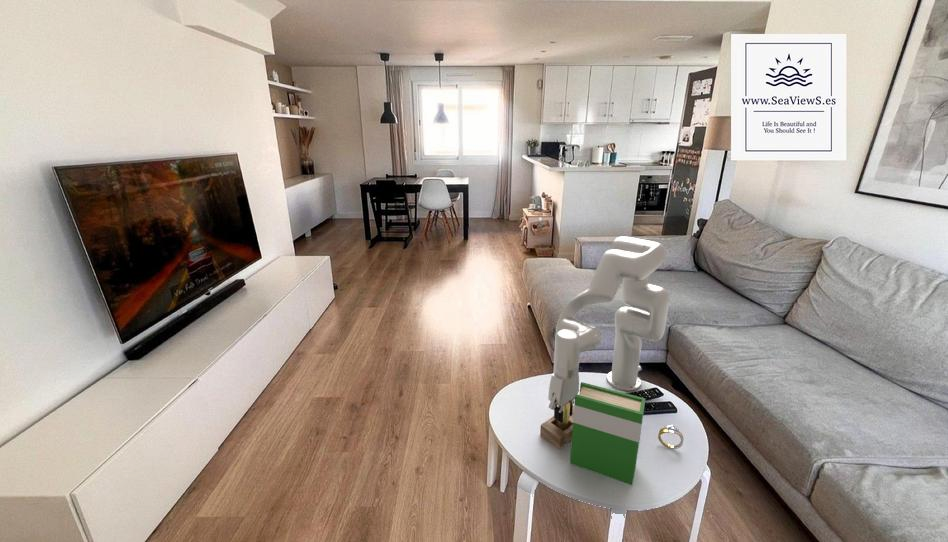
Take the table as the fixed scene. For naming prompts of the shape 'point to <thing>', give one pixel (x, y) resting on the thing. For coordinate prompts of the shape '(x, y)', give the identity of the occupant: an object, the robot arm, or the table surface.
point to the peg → (564, 417)
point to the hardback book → (606, 431)
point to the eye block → (557, 432)
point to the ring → (672, 430)
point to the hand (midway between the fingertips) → (563, 416)
